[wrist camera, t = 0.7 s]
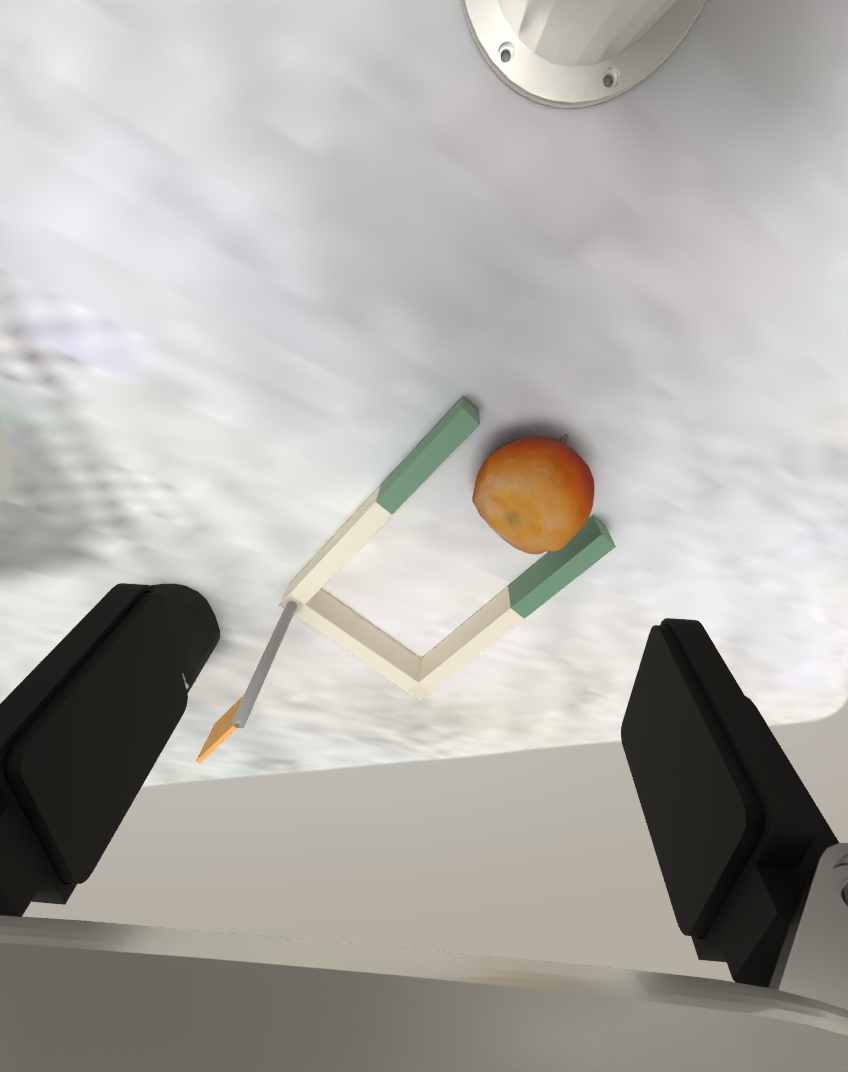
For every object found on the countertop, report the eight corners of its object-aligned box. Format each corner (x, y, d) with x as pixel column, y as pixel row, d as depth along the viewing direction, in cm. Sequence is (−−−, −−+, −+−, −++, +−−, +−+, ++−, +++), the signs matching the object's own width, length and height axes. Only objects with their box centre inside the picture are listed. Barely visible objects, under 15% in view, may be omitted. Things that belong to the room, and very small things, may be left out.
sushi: (232, 649, 50) (196, 716, 44) (149, 656, 52) (101, 723, 45) (201, 577, 47) (156, 638, 40) (112, 586, 48) (53, 647, 41)
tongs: (462, 396, 38) (462, 485, 25) (606, 526, 42) (671, 662, 29) (262, 612, 48) (188, 756, 35) (393, 699, 52) (370, 856, 39)
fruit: (627, 500, 39) (589, 571, 34) (530, 507, 44) (485, 569, 39) (596, 397, 36) (549, 459, 31) (495, 418, 41) (441, 474, 36)
